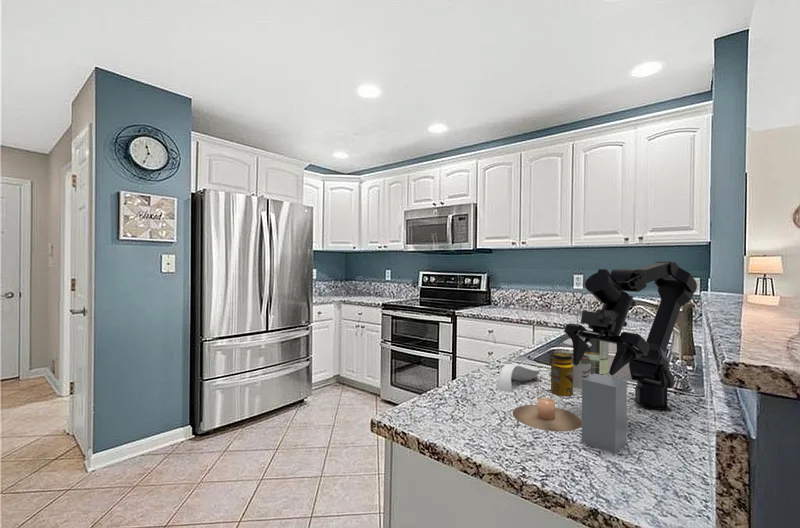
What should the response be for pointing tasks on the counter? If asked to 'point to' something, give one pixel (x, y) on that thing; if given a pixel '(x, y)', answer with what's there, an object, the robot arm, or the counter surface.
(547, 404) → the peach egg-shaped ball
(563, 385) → the condiment
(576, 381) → the french press
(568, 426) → the plate
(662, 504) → the counter surface
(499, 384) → the white curved piece
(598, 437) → the grey tall block
